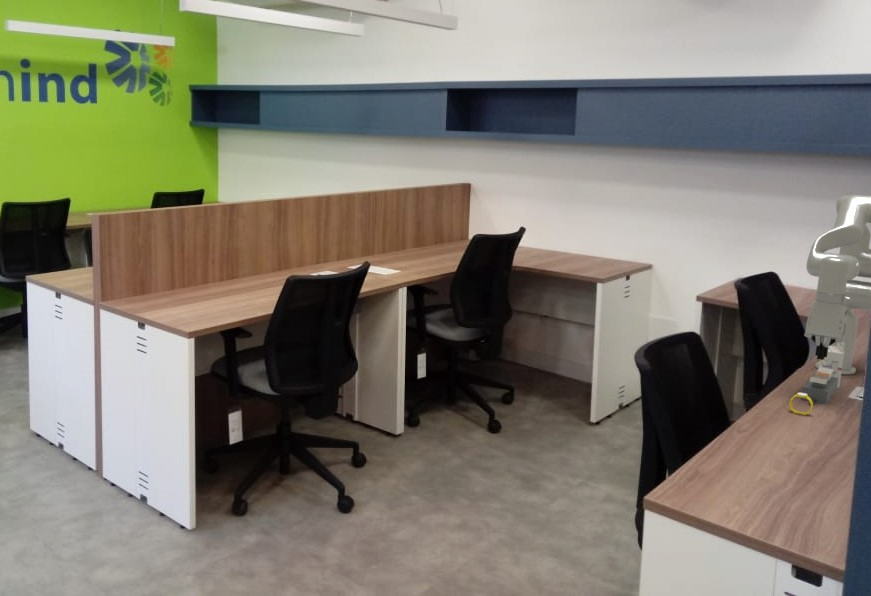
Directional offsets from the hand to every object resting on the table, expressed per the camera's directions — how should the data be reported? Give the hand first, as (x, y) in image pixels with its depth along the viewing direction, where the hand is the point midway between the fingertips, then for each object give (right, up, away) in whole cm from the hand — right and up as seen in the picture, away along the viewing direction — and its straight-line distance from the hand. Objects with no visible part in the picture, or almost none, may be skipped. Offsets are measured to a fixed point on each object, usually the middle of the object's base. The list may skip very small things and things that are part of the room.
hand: (820, 358), depth 236 cm
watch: (-11, -15, -9) cm, 21 cm away
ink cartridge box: (+12, -10, +20) cm, 26 cm away
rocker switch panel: (+2, -12, +7) cm, 14 cm away
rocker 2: (+1, -7, +4) cm, 8 cm away
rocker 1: (+6, -6, +11) cm, 14 cm away
